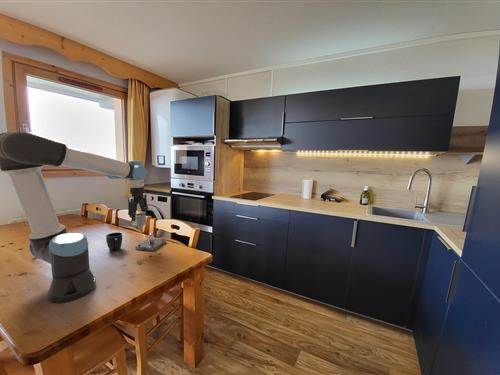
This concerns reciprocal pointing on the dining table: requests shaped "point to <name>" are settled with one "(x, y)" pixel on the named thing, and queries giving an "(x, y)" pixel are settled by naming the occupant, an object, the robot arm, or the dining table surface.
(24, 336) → the dining table surface
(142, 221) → the hub
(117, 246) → the mug
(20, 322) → the dining table surface
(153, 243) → the shaft block
